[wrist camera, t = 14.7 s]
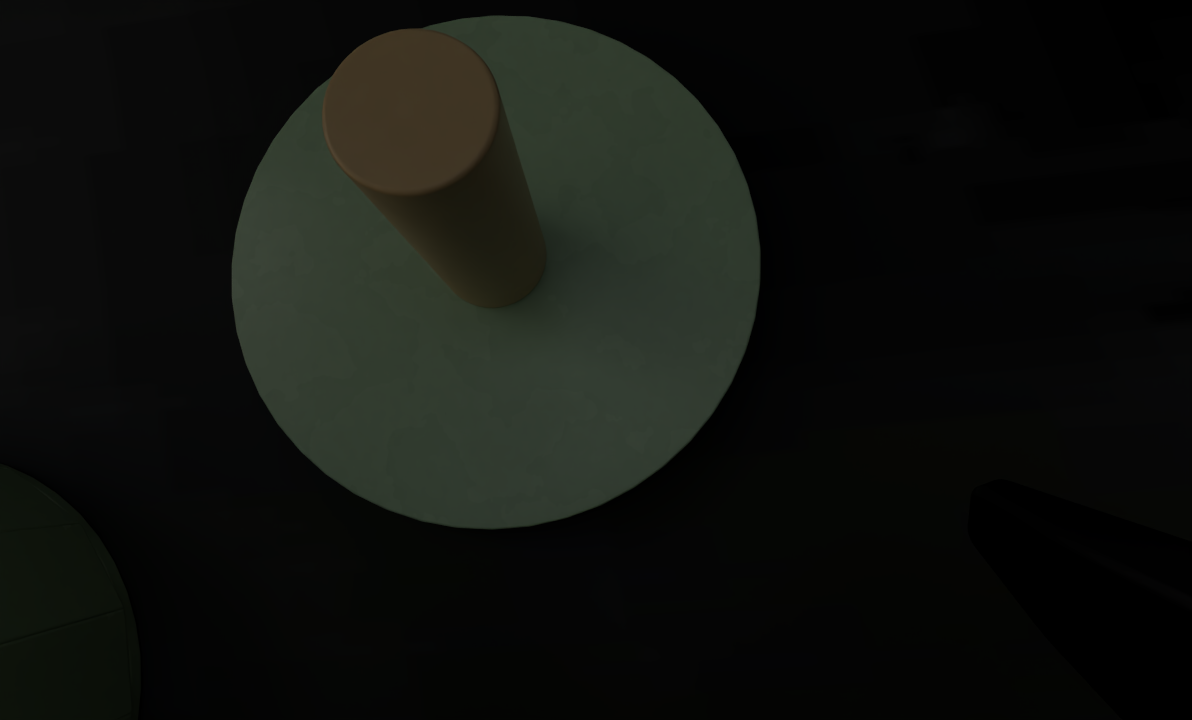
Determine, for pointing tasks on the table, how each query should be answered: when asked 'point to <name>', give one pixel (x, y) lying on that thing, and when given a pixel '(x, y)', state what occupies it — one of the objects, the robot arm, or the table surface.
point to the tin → (61, 613)
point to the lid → (495, 271)
